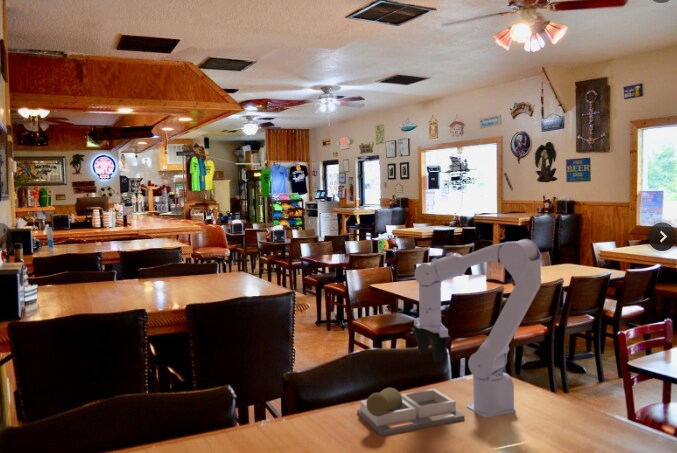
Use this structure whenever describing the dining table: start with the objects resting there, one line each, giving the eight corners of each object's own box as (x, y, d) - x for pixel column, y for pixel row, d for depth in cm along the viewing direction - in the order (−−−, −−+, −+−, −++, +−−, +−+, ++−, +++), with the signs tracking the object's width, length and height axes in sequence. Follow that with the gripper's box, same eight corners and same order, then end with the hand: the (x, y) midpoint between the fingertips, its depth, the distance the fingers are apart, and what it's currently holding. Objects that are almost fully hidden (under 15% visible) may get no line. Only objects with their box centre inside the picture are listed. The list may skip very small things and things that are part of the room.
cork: (404, 410, 134) (390, 416, 124) (382, 415, 136) (366, 421, 126) (398, 385, 135) (384, 388, 125) (376, 390, 137) (360, 394, 127)
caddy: (434, 400, 145) (434, 387, 145) (464, 419, 132) (464, 405, 132) (357, 413, 138) (356, 400, 137) (381, 436, 124) (380, 420, 124)
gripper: (404, 303, 153) (404, 352, 153) (430, 314, 139) (431, 367, 140) (426, 301, 155) (427, 349, 156) (454, 311, 141) (455, 363, 142)
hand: (430, 357), depth 148 cm, fingers open, 7 cm apart
